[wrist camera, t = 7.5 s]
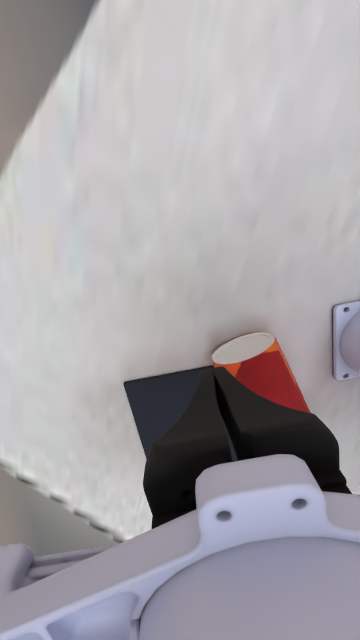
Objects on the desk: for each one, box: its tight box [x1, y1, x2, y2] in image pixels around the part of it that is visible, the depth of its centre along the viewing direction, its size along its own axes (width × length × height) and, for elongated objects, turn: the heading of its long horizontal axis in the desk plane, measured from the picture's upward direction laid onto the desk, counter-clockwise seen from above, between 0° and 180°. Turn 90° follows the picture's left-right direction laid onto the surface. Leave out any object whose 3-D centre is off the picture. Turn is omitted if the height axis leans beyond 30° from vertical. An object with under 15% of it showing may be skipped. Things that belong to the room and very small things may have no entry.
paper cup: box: [212, 332, 310, 413], centre depth 22 cm, size 8×8×14 cm
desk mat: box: [124, 366, 237, 462], centre depth 28 cm, size 16×20×1 cm
